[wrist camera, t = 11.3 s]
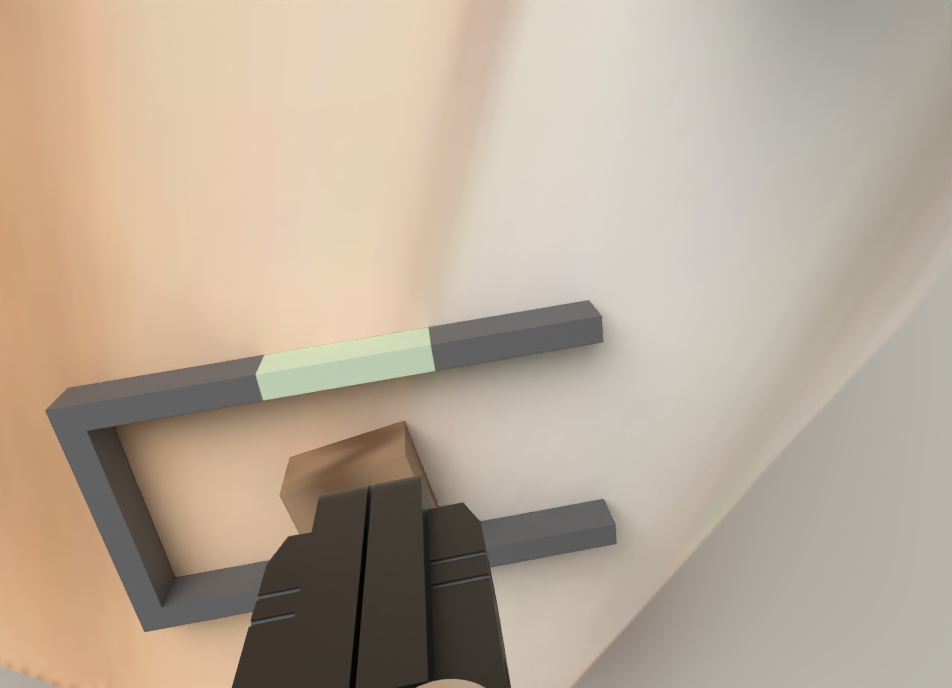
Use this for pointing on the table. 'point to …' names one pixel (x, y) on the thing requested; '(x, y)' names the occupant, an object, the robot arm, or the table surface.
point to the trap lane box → (280, 375)
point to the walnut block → (349, 469)
